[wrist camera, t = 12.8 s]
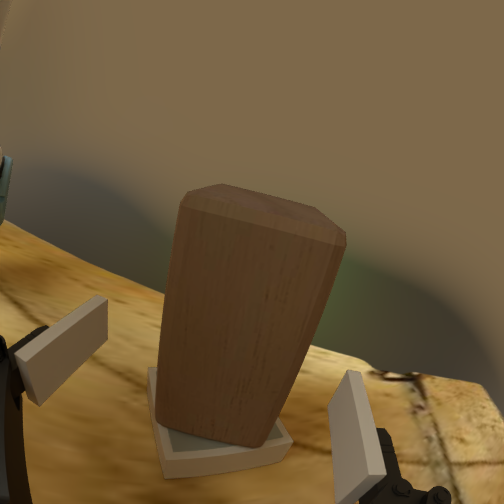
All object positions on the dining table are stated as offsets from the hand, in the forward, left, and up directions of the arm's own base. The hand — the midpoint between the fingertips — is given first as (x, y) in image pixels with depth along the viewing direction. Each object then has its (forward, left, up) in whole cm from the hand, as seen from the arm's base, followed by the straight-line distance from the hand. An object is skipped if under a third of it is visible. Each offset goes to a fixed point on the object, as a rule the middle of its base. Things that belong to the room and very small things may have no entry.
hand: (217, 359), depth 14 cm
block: (-7, +4, -13) cm, 15 cm away
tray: (-7, +4, -17) cm, 19 cm away
